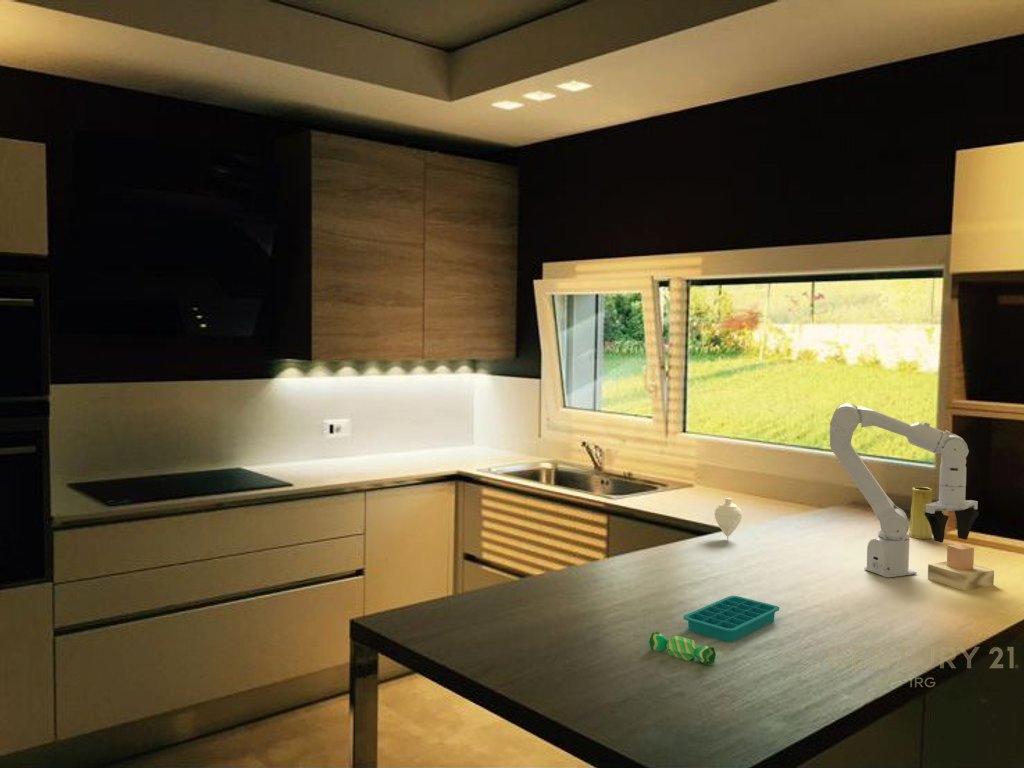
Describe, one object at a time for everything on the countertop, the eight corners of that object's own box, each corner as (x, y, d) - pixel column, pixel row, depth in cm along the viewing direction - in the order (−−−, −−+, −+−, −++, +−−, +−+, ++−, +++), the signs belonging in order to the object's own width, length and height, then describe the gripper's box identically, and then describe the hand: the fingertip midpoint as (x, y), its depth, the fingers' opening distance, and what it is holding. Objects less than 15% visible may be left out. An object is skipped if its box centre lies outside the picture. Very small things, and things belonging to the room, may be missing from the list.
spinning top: (708, 538, 248) (709, 497, 247) (729, 535, 251) (730, 494, 250) (725, 544, 241) (726, 502, 240) (747, 541, 244) (748, 499, 243)
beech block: (964, 592, 199) (965, 575, 199) (927, 580, 208) (928, 564, 208) (993, 586, 203) (994, 570, 203) (956, 575, 212) (956, 559, 212)
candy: (646, 647, 162) (653, 627, 163) (654, 653, 164) (661, 632, 165) (703, 664, 154) (710, 642, 155) (711, 670, 156) (717, 648, 157)
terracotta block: (960, 570, 203) (960, 549, 203) (946, 565, 207) (947, 545, 207) (973, 568, 204) (974, 548, 204) (959, 564, 208) (960, 543, 208)
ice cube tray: (680, 631, 173) (680, 616, 173) (732, 608, 188) (732, 594, 187) (731, 646, 165) (731, 631, 165) (781, 621, 179) (782, 607, 179)
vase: (927, 534, 252) (929, 486, 251) (935, 539, 246) (937, 490, 245) (905, 533, 253) (907, 486, 252) (913, 539, 247) (915, 490, 246)
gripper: (942, 489, 201) (940, 546, 202) (989, 485, 206) (987, 541, 207) (919, 484, 208) (917, 539, 209) (964, 480, 213) (962, 534, 214)
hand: (950, 540), depth 208 cm, fingers open, 7 cm apart
